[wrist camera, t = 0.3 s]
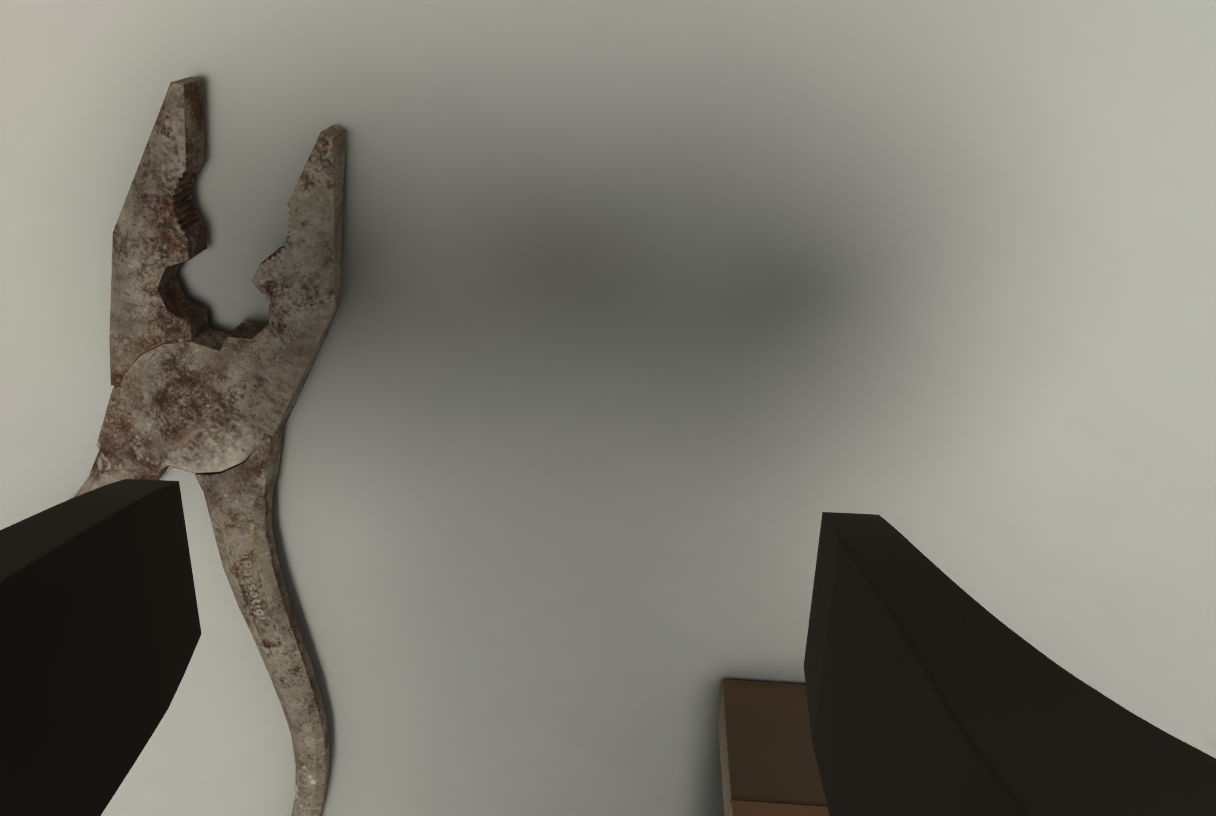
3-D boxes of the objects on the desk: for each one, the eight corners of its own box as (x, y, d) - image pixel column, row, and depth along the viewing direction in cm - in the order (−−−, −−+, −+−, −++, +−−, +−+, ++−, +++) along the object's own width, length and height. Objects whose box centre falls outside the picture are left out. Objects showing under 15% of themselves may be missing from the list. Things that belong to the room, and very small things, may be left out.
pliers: (-65, 864, 27) (-206, 29, 19) (-45, 838, 28) (-172, 25, 20) (318, 916, 27) (341, 106, 19) (328, 889, 28) (355, 100, 20)
